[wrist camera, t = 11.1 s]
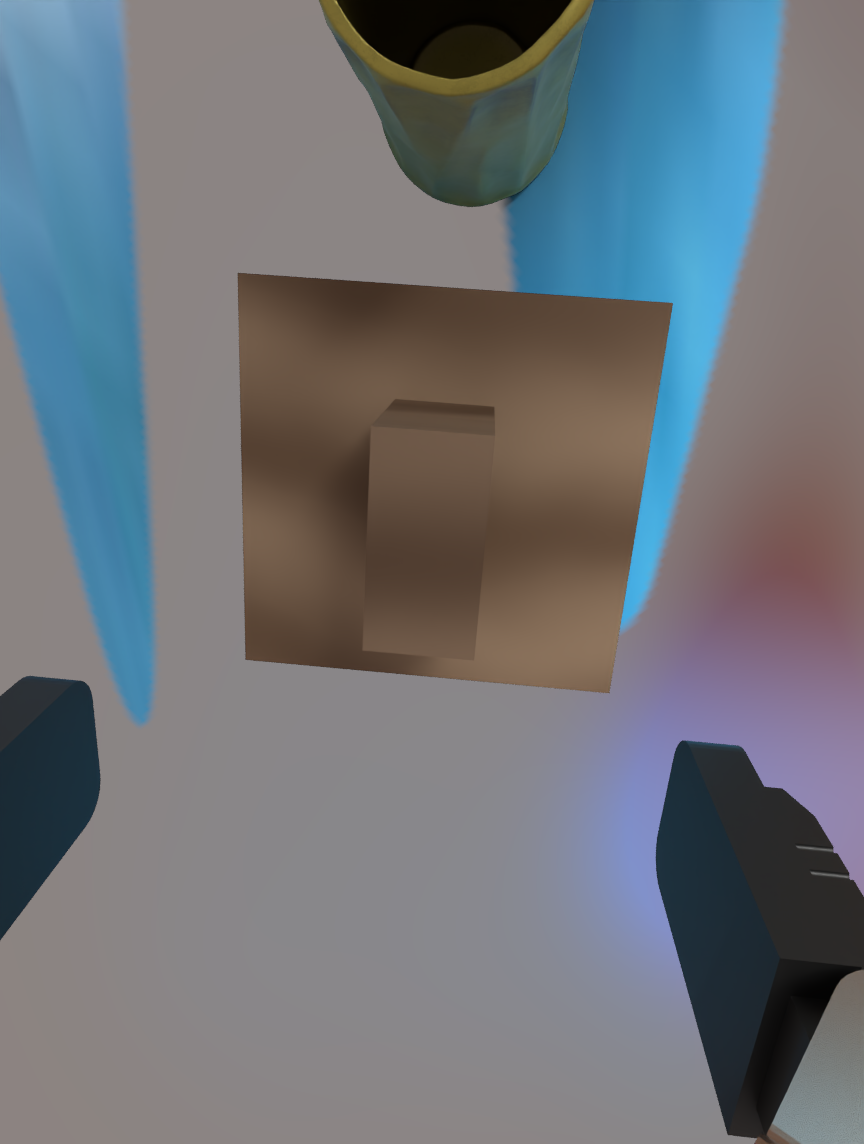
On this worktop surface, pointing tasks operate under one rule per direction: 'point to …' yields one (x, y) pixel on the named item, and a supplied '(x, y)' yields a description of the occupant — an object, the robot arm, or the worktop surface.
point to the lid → (442, 476)
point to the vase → (465, 86)
